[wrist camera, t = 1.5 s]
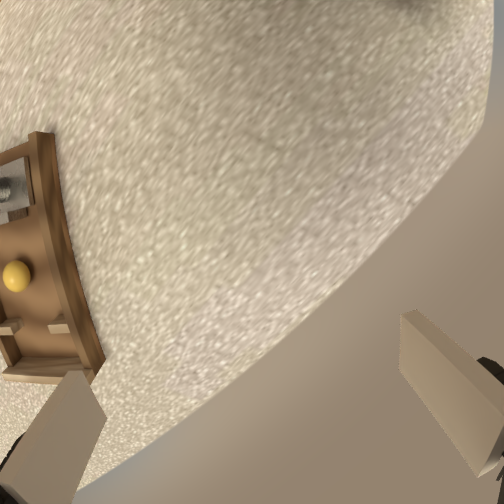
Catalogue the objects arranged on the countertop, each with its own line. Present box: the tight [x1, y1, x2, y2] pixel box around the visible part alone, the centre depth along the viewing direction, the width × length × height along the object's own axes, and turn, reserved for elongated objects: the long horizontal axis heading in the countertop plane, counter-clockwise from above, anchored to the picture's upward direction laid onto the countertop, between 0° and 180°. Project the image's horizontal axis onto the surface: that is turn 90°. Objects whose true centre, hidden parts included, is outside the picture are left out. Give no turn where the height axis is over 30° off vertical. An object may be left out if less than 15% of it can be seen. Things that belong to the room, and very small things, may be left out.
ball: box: [3, 261, 30, 292], centre depth 32 cm, size 4×4×4 cm
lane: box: [0, 131, 106, 385], centre depth 32 cm, size 30×16×6 cm, turn 8°
